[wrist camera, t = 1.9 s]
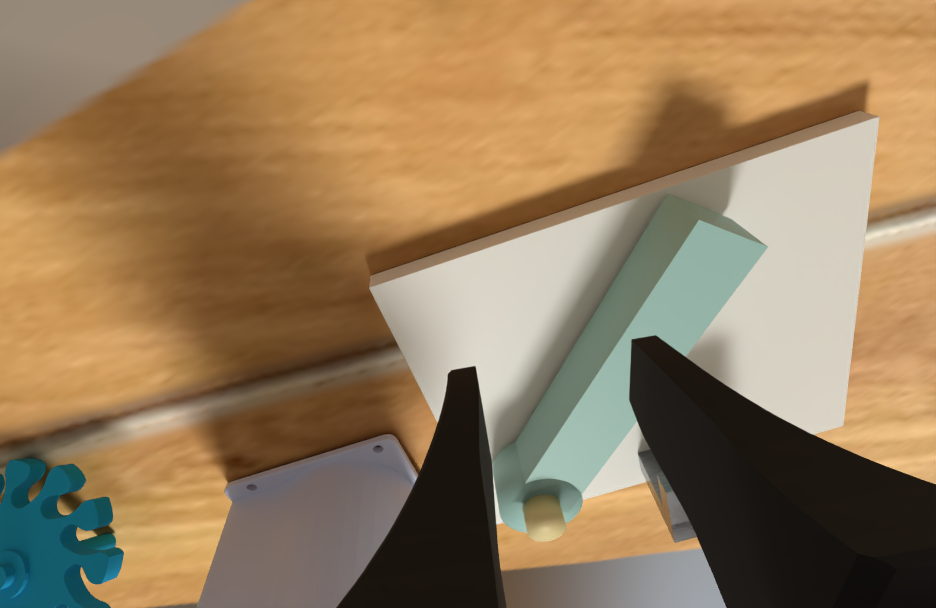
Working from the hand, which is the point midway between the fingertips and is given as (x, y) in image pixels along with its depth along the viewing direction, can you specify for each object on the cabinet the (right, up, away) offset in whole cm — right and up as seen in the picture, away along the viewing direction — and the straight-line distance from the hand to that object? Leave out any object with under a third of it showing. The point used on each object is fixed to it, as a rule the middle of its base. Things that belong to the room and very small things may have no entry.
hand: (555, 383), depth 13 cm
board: (+6, 0, +12) cm, 13 cm away
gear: (-24, -8, +14) cm, 29 cm away
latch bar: (+3, -1, +11) cm, 11 cm away
